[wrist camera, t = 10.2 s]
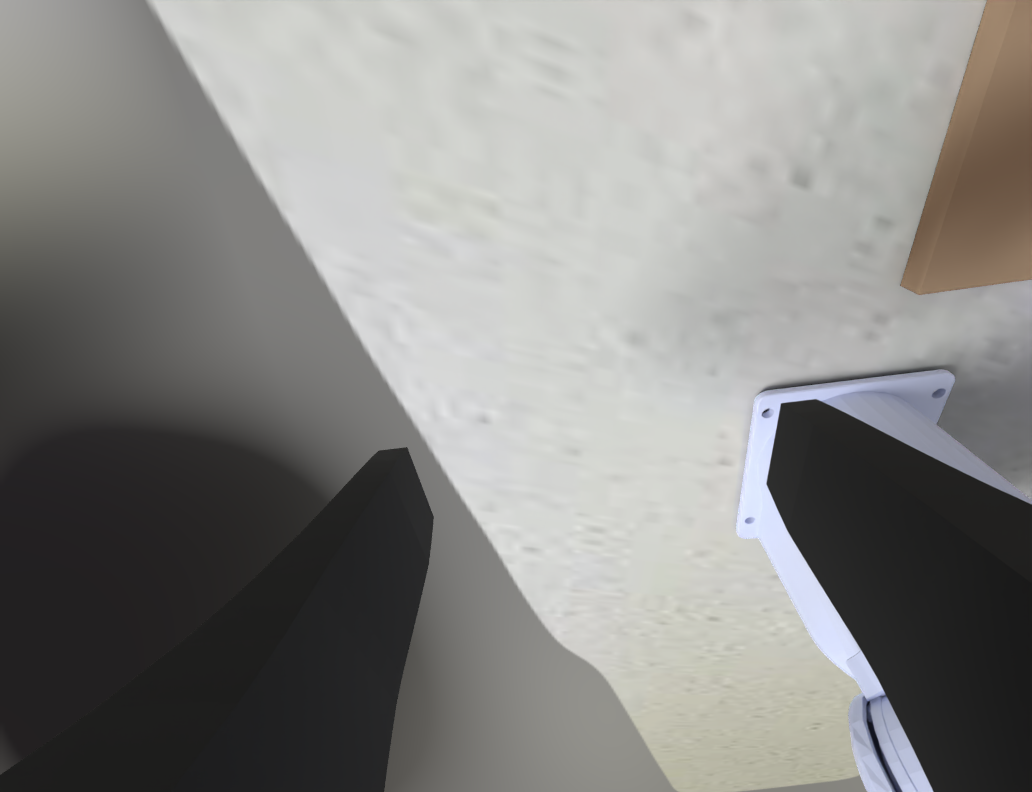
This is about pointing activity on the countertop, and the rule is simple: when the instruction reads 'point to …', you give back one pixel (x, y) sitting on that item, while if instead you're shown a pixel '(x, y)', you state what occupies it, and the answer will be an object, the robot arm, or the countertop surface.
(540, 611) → the countertop surface
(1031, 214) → the walnut board
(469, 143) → the countertop surface
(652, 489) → the countertop surface
